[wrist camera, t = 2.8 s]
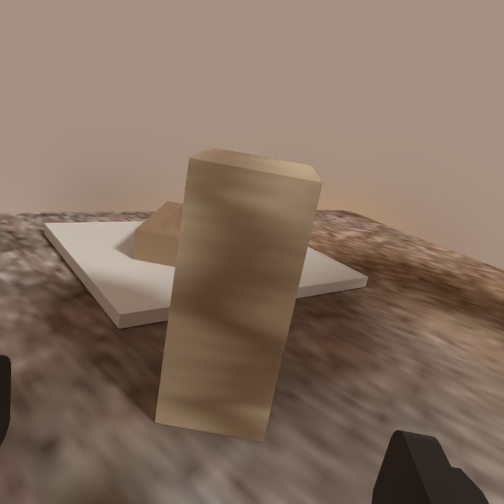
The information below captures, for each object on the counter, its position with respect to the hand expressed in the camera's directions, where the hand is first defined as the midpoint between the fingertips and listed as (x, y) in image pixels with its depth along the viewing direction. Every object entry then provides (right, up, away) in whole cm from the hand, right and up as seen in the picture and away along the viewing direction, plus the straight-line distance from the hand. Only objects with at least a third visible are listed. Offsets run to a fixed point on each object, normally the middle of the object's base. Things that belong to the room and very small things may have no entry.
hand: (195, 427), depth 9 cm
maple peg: (-1, -4, +13) cm, 14 cm away
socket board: (-3, +3, +32) cm, 32 cm away
